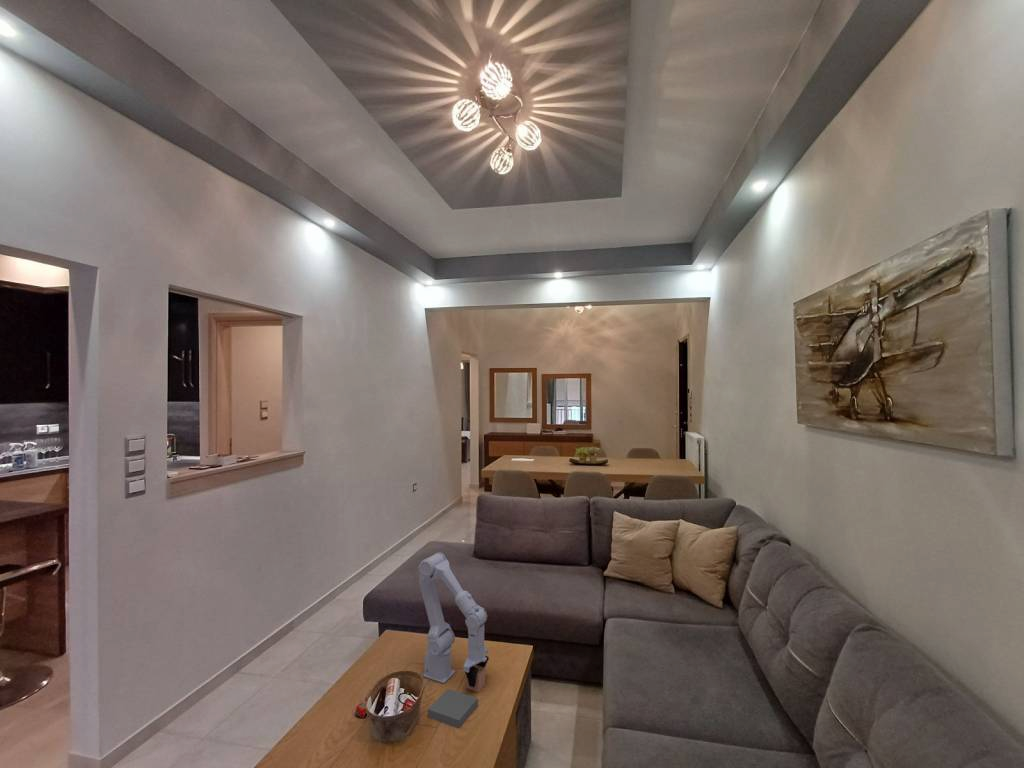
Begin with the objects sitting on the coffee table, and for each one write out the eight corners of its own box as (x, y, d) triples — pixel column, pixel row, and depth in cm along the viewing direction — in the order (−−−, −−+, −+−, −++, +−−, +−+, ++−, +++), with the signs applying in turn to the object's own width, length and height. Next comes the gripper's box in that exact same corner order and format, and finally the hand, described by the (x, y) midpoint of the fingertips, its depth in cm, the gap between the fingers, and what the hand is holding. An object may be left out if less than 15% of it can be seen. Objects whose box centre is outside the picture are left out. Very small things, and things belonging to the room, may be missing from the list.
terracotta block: (466, 688, 172) (466, 671, 172) (473, 680, 176) (473, 664, 176) (478, 692, 169) (478, 675, 169) (485, 684, 174) (485, 667, 174)
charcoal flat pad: (427, 718, 156) (427, 709, 156) (447, 697, 167) (447, 688, 167) (459, 729, 151) (459, 720, 151) (477, 707, 162) (477, 698, 162)
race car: (360, 722, 154) (360, 709, 154) (352, 714, 158) (352, 702, 158) (395, 702, 164) (395, 690, 164) (387, 695, 167) (387, 684, 168)
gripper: (475, 656, 165) (475, 696, 164) (495, 637, 178) (495, 674, 178) (458, 651, 168) (457, 690, 168) (478, 632, 181) (478, 669, 181)
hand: (475, 681), depth 173 cm, fingers closed on terracotta block, 5 cm apart
